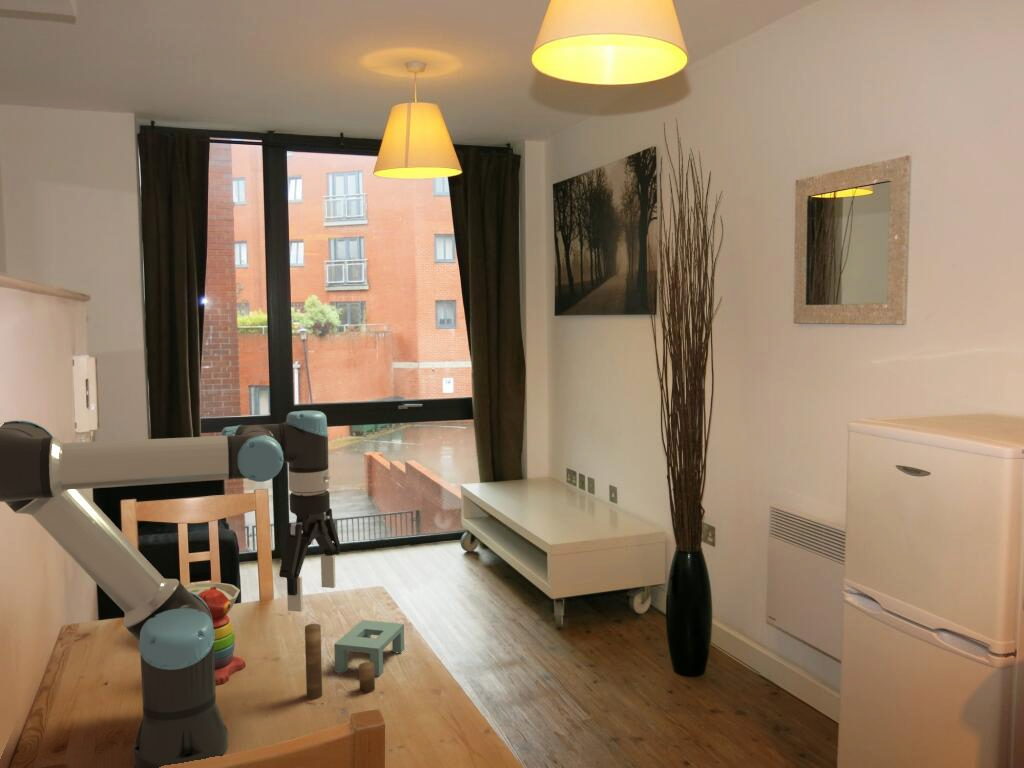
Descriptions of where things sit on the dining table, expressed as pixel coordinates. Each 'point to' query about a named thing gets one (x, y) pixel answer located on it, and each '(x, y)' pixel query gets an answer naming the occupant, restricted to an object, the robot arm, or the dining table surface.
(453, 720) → the dining table surface
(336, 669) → the green stand with hole
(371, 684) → the short pin
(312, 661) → the long pin
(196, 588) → the bowl
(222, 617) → the stacking bear
